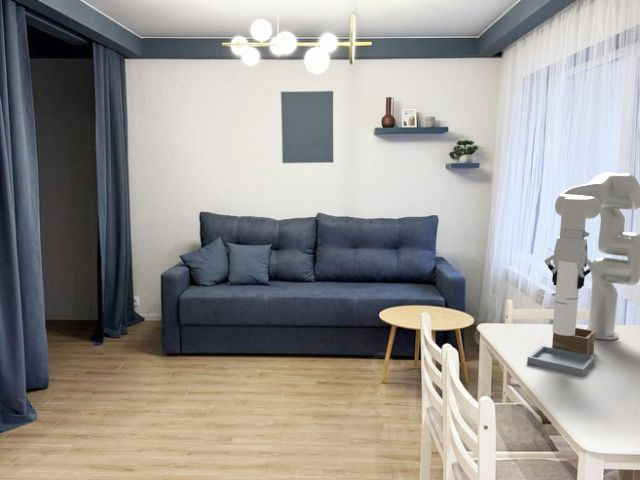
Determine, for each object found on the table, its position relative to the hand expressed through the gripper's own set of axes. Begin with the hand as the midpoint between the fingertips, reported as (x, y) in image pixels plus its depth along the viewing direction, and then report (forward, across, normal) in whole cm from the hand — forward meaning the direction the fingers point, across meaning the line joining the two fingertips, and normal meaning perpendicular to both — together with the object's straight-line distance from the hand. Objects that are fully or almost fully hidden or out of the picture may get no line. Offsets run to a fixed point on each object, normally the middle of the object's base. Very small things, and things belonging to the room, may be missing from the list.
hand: (567, 286), depth 198 cm
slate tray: (+27, 0, 0) cm, 27 cm away
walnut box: (+27, 0, -15) cm, 31 cm away
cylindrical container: (+16, 0, 0) cm, 16 cm away
